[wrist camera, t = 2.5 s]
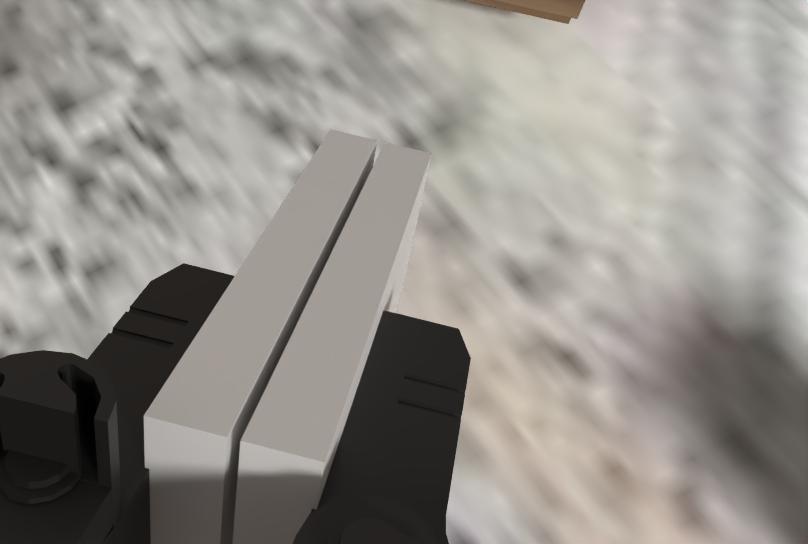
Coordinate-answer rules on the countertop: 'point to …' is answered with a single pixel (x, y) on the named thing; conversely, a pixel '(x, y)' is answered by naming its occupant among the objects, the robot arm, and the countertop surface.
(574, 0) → the balance beam
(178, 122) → the countertop surface
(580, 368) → the countertop surface
